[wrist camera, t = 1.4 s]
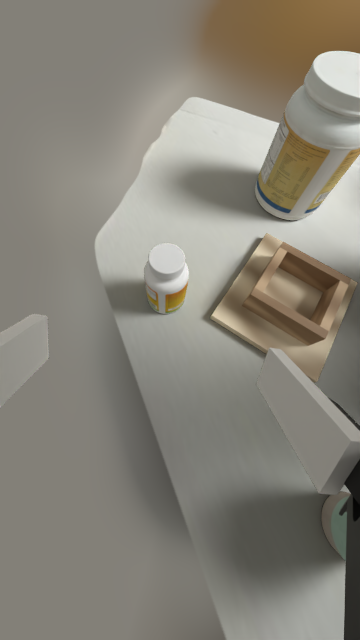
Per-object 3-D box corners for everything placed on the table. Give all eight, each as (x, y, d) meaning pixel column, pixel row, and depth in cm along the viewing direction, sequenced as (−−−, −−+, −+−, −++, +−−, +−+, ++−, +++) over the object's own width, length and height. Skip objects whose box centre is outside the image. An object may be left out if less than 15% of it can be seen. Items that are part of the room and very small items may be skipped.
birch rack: (263, 238, 38) (276, 216, 33) (351, 286, 36) (378, 270, 31) (209, 318, 32) (217, 304, 28) (311, 382, 30) (337, 379, 25)
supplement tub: (304, 174, 44) (381, 48, 29) (324, 222, 40) (428, 104, 24) (245, 175, 43) (293, 43, 27) (260, 224, 39) (326, 102, 23)
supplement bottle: (187, 286, 34) (196, 242, 25) (180, 318, 32) (186, 284, 23) (152, 278, 34) (148, 232, 25) (143, 310, 32) (135, 272, 23)
